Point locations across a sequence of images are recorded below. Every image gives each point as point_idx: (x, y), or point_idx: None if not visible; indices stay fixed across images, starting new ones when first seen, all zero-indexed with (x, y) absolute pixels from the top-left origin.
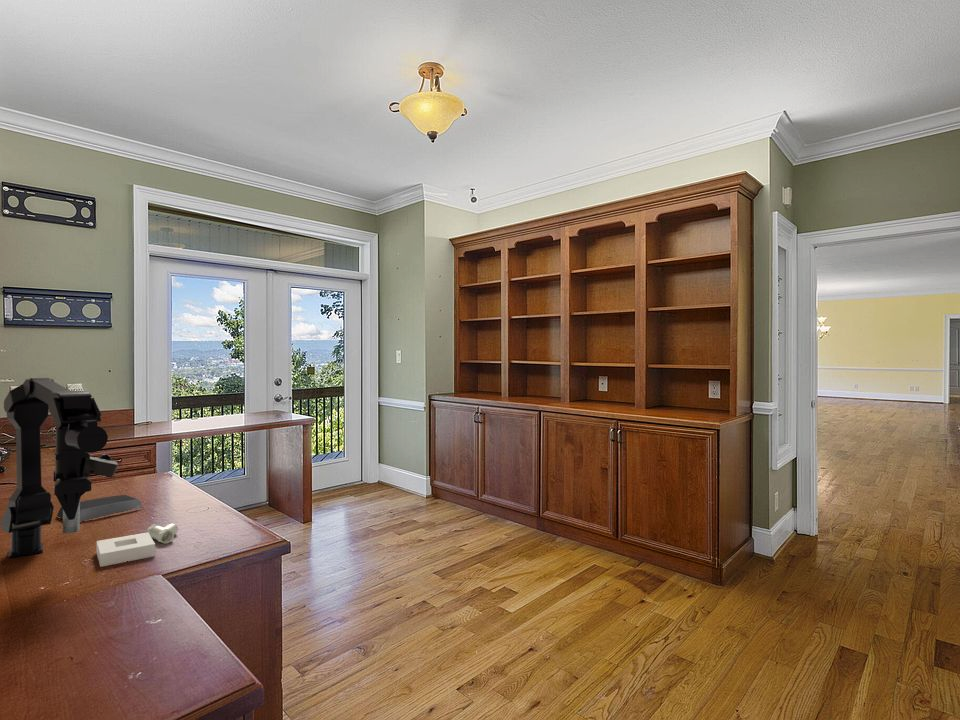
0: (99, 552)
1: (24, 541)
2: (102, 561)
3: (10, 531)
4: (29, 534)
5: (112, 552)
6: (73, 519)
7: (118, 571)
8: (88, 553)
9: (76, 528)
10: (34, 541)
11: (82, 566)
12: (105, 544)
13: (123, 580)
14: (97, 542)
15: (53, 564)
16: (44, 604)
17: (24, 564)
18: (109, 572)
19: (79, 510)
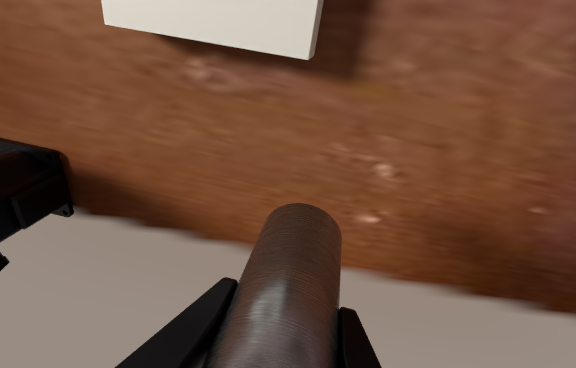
0: (264, 51)
1: (35, 211)
2: (313, 48)
3: (4, 260)
4: (5, 208)
5: (317, 5)
6: (338, 304)
7: (430, 11)
8: (127, 49)
9: (338, 239)
10: (27, 184)
11: (261, 100)
12: (178, 3)
13: (565, 24)
14: (128, 26)
15: (183, 155)
16: (508, 247)
17: (140, 202)
18: (408, 43)
19: (300, 318)
